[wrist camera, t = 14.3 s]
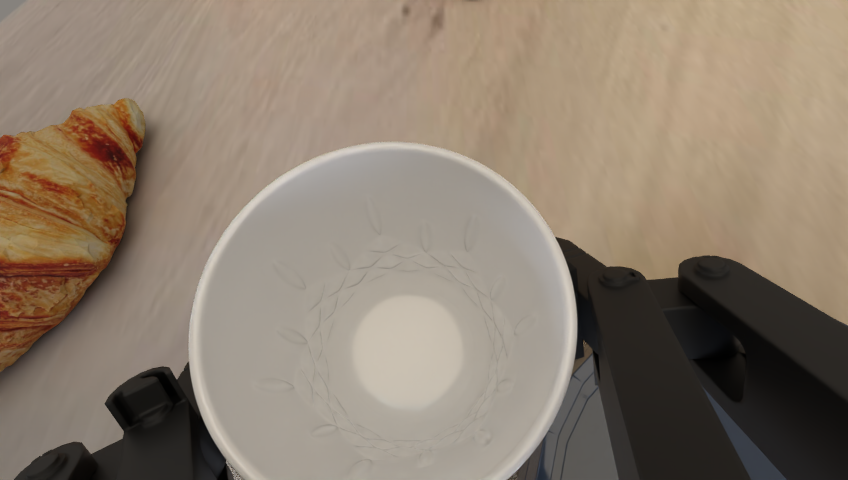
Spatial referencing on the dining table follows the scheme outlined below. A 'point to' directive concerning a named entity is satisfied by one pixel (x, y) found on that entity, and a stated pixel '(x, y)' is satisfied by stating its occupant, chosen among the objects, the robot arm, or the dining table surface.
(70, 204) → the croissant
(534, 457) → the plate
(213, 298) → the white cup
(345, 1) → the dining table surface
